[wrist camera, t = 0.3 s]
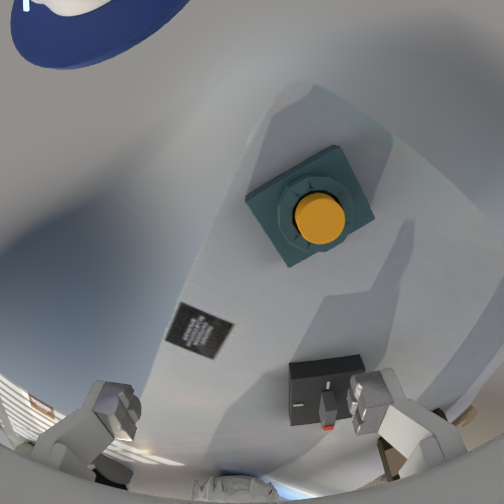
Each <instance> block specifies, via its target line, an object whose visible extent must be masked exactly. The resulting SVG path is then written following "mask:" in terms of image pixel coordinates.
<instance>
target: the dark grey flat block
mask: <svg viewBox="0 0 504 504" xmlns="http://www.w3.org/2000/svg"><path fill="white" fill-rule="evenodd" d="M362 373H365V367H364V364H363V362H362V359H361V357H360V355H353V356H346V357H339V358H332V359H324V360H316V361H307V362H298V363H289V418H290V426H295V425H304V424H312V423H320V422H321V421H320V415H319V407H320V400H321V393H322V392H327V391H333V394H334V398H335V402H336V406H337V414H336V419H335V420H340V419H346V418H351V417H352V416H353V415H352V414H351V413H350V412H349V408H348V403H347V394H348V390H349V389H350V388H351V384H350V380H351V377H352V375H356V374H362Z"/></svg>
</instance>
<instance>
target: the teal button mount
mask: <svg viewBox="0 0 504 504" xmlns="http://www.w3.org/2000/svg"><path fill="white" fill-rule="evenodd" d="M312 193H324V194H327V195H329V196H330V197H332V198H333V199H334V200H335V201H336V202H337V203H338V204H339V205H340V206H341V208H342V209H343V211H344V214H345V225H344V228H343V231H342V232H341V234H340V235H339V236H338V237H337V238H336V239H335V240H333V241H331V242H329V243H326V244H315V243H312V242H309V241H308V240H306V239H305V238H304V237H303V236H302V234H301V232H300V230H299V228H298V226H297V223H296V220H295V211H296V208H297V205H298V204H299V202H300V201H301V200H302V199H303V198H304V197H306V196H307V195H309V194H312ZM245 202H246V204H247V205H248V207H249V209H250V210H251V212H252V213H253V215H254V216H255V218H256V219H257V221H258V222H259V224H260V225H261V227H262V228H263V230H264V231H265V233H266V234H267V236H268V237H269V239H270V241H271V242H272V244H273V245H274V247H275V248H276V250H277V251H278V253H279V254H280V256H281V257H282V259H283V261H284V262H285V264H286V265H287V267H288V268H290V267H292V266H293V265H295V264H297V263H299V262H301V261H302V260H304V259H306V258H308V257H310V256H311V255H313V254H315V253H317V252H326V251H328V250H330V249H332V248H333V247H335V246H337V245H339V244H340V243H342V242H343V241H344V240H345V238H346V237H347V235H348V234H350V233H352V232H354V231H355V230H357V229H359V228H360V227H362V226H364V225H366V224H367V223H369V222H371V221H372V220H374V219H375V217H374V215H373V213H372V210H371V208H370V206H369V204H368V202H367V200H366V197H365V195H364V193H363V191H362V189H361V187H360V185H359V183H358V181H357V179H356V177H355V175H354V173H353V171H352V169H351V167H350V165H349V163H348V161H347V159H346V157H345V155H344V153H343V151H342V149H341V148H340V147H339V146H336V145H332V146H330V147H329V148H327V149H325V150H323V151H321V152H320V153H318V154H316V155H314V156H313V157H311V158H309V159H307V160H305V161H304V162H302V163H300V164H299V165H297V166H295V167H293V168H292V169H290V170H288V171H286V172H285V173H283V174H281V175H280V176H278V177H276V178H275V179H273V180H271V181H269V182H268V183H266V184H264V185H263V186H261V187H259V188H258V189H256V190H255V191H253V192H251V193H250V194H248V195H246V198H245Z"/></svg>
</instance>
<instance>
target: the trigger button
mask: <svg viewBox="0 0 504 504" xmlns="http://www.w3.org/2000/svg"><path fill="white" fill-rule="evenodd" d="M295 220H296V223H297V226H298V228H299V230H300V232H301V234H302V236H303V237H304V238H305V239H306V240H308V241H309V242H312V243H315V244H326V243H329V242H331V241H333V240H335V239H336V238H337V237H338V236H339V235H340V234H341V232H342V231H343V228H344V225H345V214H344V211H343V209H342V208H341V206H340V205H339V204H338V203H337V202H336V201H335V200H334V199H333V198H332V197H330V196H329V195H327V194H324V193H312V194H309V195H307V196H306V197H304V198H303V199H302V200H301V201H300V202H299V204H298V205H297V208H296V211H295Z"/></svg>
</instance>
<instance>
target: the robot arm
mask: <svg viewBox="0 0 504 504" xmlns="http://www.w3.org/2000/svg"><path fill="white" fill-rule="evenodd" d="M31 1H33V2H35V3H38V4H45V5H46V6H47V7H48V8H49V9H50V10H51V11H52V12H54V13H56V14H58V15H61V16H76V15H80V14H84V13H87V12H90V11H92V10H94V9H96V8H98V7H100V6H102V5H104V4H106V3H107V2H109V1H111V0H31ZM23 6H24V11H27V12H28V11H29V0H23ZM350 384H351V388H350V389H349V390H348V394H347V403H348V408H349V412H350V413H351V414H352V415H353V416H354V418H353V421H352V423H353V427H354V430H355V434H356V436H358V435H364V434H369V433H374V432H378V434H380V435H381V436H382V437H383V438H384V439H385V440H386V441H387V442H389V443H390V444H391V445H392V446H393V447H394V448H395V449H397V450H398V451H399V452H400V453H401V454H402V455H403V456H405V457H406V458H407V461H406V462H405V464H404V465H403V466H402V468H401V469H400V470H399V476H400V479H398V480H395V481H391V482H388V483H384V484H381V485H377V486H373V487H369V488H365V489H361V490H356V491H352V492H347V493H342V494H336V495H330V496H324V497H318V498H310V499H302V500H292V501H280V502H262V503H221V502H203V501H191V500H181V499H173V498H166V497H159V496H153V495H147V494H142V493H137V492H132V491H127V490H123V489H119V488H114V487H111V486H107V485H103V484H99V483H96V482H94V481H95V478H96V475H95V473H94V472H93V471H92V470H91V469H90V468H88V467H87V466H88V465H89V464H90V463H91V462H92V461H93V460H94V459H95V458H96V457H97V456H98V455H99V454H100V453H101V452H102V451H103V450H105V449H106V448H107V447H108V446H109V445H110V444H111V443H112V442H113V441H114V439H121V440H128V441H133V439H134V436H135V433H136V429H137V427H136V425H135V423H136V422H137V421H138V420H139V419H140V416H141V403H140V401H139V399H138V398H137V397H136V396H135V395H133V392H134V389H133V388H132V386H131V385H128V384H120V383H113V382H104V381H98V380H97V381H95V382H94V383H93V385H92V387H91V389H90V391H89V393H88V395H87V397H86V400H85V402H84V404H83V406H82V408H81V409H77V410H76V411H74V412H73V413H71V414H70V415H68V416H67V417H66V418H64V419H63V420H61V421H60V422H58V423H57V424H55V425H54V426H52V427H51V428H49V429H48V430H47V431H45V432H44V433H42V434H41V435H40V436H39V438H38V440H37V442H36V444H35V446H34V448H33V450H32V452H31V454H30V456H29V458H28V457H26V456H24V455H22V454H20V453H18V452H16V451H14V450H12V449H10V448H8V447H6V446H4V445H2V444H0V504H504V433H503V434H501V435H499V436H497V437H496V438H494V439H492V440H490V441H489V442H487V443H485V444H483V445H481V446H479V447H477V448H475V449H473V450H471V451H469V452H468V451H467V449H466V447H465V445H464V443H463V441H462V438H461V436H460V434H459V432H458V430H457V428H456V426H454V425H453V424H451V423H449V422H448V421H446V420H444V419H443V418H441V417H439V416H438V415H436V414H434V413H433V412H431V411H430V410H428V409H426V408H425V407H423V406H421V405H420V404H418V403H417V402H415V401H413V400H412V399H406V396H405V394H404V392H403V390H402V388H401V386H400V384H399V382H398V380H397V377H396V375H395V373H394V371H393V369H391V368H388V369H383V370H378V371H372V372H367V373H362V374H356V375H352V377H351V380H350Z"/></svg>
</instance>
